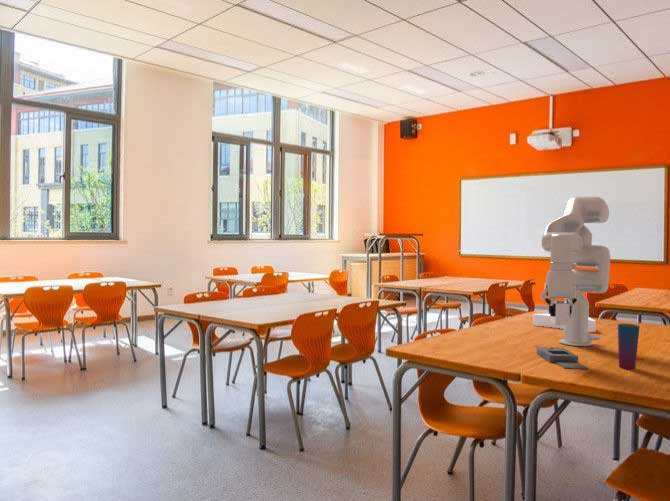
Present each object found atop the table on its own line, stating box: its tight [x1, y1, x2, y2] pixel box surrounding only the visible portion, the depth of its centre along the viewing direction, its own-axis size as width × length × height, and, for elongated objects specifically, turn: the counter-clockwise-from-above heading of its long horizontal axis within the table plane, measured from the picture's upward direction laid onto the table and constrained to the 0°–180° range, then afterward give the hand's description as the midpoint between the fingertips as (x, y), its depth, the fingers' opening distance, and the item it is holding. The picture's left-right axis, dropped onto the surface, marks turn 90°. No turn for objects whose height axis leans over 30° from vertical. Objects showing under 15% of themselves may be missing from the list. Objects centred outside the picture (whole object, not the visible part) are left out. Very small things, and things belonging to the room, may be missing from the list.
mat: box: [555, 362, 589, 370], centre depth 195 cm, size 8×8×1 cm
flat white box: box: [532, 313, 597, 334], centre depth 283 cm, size 30×26×6 cm
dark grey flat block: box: [536, 346, 579, 363], centre depth 208 cm, size 10×15×3 cm, turn 177°
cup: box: [617, 322, 640, 370], centre depth 194 cm, size 7×7×15 cm
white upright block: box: [551, 300, 570, 325], centre depth 206 cm, size 5×5×9 cm
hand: (560, 315), depth 206 cm, fingers closed on white upright block, 5 cm apart
